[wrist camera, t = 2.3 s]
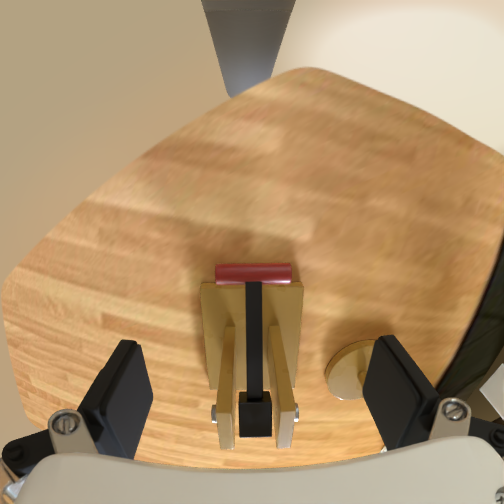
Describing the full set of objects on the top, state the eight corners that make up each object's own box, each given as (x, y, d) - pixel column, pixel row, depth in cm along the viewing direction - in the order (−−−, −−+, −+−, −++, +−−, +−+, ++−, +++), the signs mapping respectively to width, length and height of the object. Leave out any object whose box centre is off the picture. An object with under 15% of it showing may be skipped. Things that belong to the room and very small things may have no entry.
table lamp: (322, 335, 28) (410, 582, 4) (406, 327, 28) (534, 504, 4) (311, 403, 31) (355, 597, 7) (386, 392, 31) (462, 553, 7)
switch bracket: (201, 282, 26) (174, 365, 15) (301, 281, 26) (337, 362, 15) (210, 382, 30) (199, 471, 18) (293, 381, 30) (310, 468, 19)
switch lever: (217, 265, 21) (214, 261, 19) (287, 264, 21) (292, 260, 19) (221, 423, 19) (219, 437, 17) (287, 422, 20) (292, 435, 17)
